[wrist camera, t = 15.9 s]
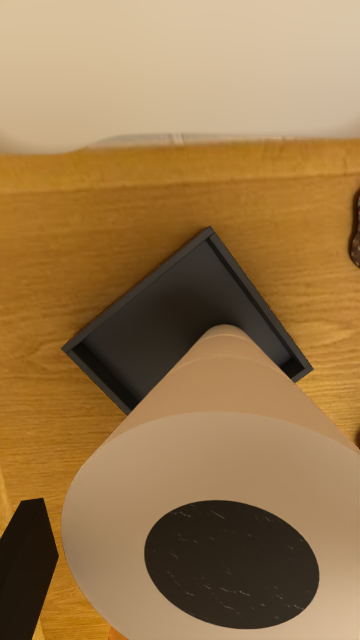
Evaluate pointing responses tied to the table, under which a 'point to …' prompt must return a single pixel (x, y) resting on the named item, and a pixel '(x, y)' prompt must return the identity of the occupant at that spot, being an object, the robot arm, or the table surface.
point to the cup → (220, 508)
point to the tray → (177, 322)
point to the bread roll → (356, 241)
